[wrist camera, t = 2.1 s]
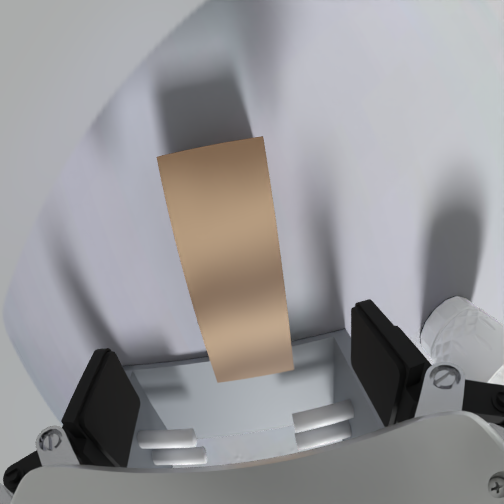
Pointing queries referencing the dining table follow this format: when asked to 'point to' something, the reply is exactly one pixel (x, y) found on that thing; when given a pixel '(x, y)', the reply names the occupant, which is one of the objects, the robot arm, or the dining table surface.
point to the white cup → (466, 340)
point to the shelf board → (230, 255)
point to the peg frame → (248, 403)
